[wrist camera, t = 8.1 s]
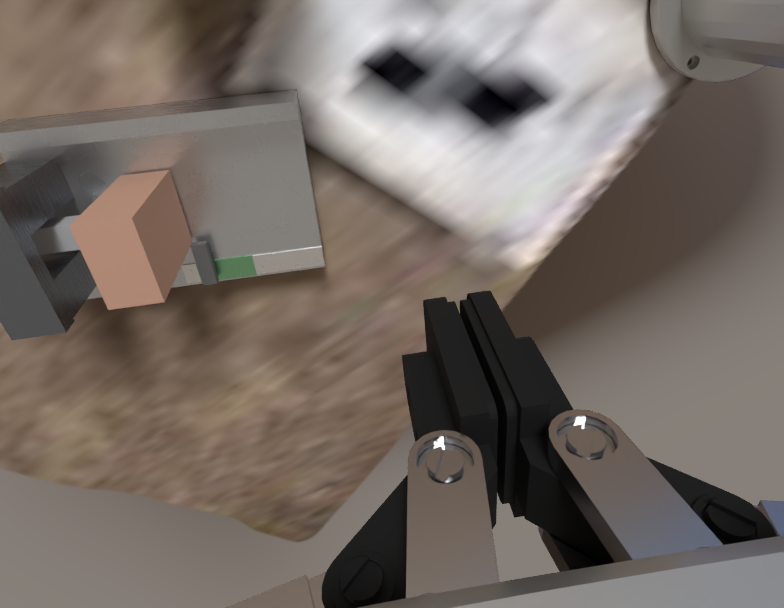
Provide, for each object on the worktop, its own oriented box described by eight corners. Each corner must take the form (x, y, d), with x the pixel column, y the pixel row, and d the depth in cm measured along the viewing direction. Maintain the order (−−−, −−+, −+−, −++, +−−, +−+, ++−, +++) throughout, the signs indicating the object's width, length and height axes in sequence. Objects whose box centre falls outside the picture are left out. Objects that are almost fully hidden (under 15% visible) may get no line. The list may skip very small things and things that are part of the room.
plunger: (185, 168, 31) (152, 215, 24) (219, 278, 35) (199, 344, 29) (-66, 197, 30) (-173, 255, 23) (1, 307, 34) (-73, 383, 28)
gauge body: (296, 89, 32) (293, 120, 24) (324, 252, 39) (328, 320, 31) (8, 119, 31) (-98, 164, 23) (87, 284, 37) (26, 364, 29)
